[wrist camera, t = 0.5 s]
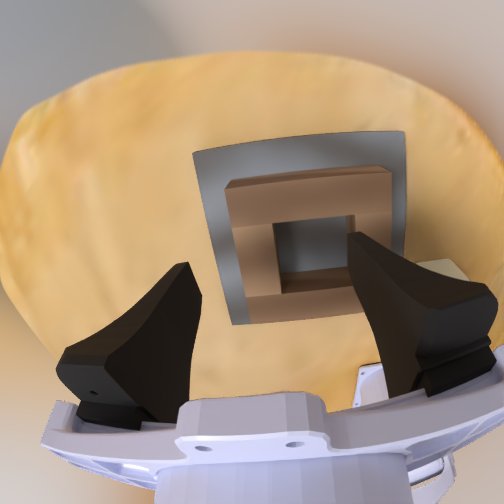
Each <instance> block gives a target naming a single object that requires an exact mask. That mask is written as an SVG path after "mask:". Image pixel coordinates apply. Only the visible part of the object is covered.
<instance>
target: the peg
mask: <svg viewBox="0 0 504 504" xmlns="http://www.w3.org/2000/svg"><path fill="white" fill-rule="evenodd" d="M416 264H417V265H419V266H421V267H424V268H426V269H429V270H431V271H434V272H437V273H440V274H443V275H446V276H449V277H453V278H457V279H461V280H465V281H470V280H469V279H468V278H467V276H466V275H465V274H464V273H463V272H462V271H461V270H460V269H459V268H458V267H457V266H456V265H455V264H454V263H453V261H452V260H451V259H450V258H446V259H439V260H432V261H426V262H419V263H416Z"/></svg>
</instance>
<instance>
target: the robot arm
mask: <svg viewBox="0 0 504 504" xmlns="http://www.w3.org/2000/svg"><path fill="white" fill-rule="evenodd" d="M347 243H348V271H349V275H350V278H351V281H352V284H353V287H354V290H355V292H356V294H357V297H358V299H359V301H360V303H361V305H362V308H363V310H364V312H365V314H366V316H367V319H368V321H369V323H370V326H371V328H372V331H373V333H374V337H375V340H376V344H377V347H378V351H379V355H380V359H381V363H378V364H373V365H367V366H362V367H360V368H359V372H358V378H357V384H356V390H355V395H354V401H353V406H352V408H351V409H346V410H341V411H336V412H331V413H327V412H326V406H325V403H324V402H323V400H322V399H321V398H320V397H319V396H317V395H314V394H310V393H307V392H303V391H300V392H279V393H271V394H261V395H251V396H239V397H223V398H202V399H196V400H190V401H189V389H190V370H191V359H192V353H193V348H194V343H195V339H196V334H197V330H198V325H199V320H200V315H201V305H202V294H201V292H200V289H199V287H198V285H197V282H196V280H195V277H194V275H193V272H192V270H191V267H190V264H189V262H184V263H178V264H176V265H174V266H173V267H172V268H171V269H170V270H169V271H168V272H167V273H166V274H165V275H164V276H163V277H162V278H161V279H160V280H159V281H158V282H157V283H156V284H155V286H154V287H153V288H152V289H151V290H150V291H149V292H148V293H147V294H146V295H144V296H143V297H142V298H141V299H140V300H139V301H138V302H137V303H136V304H135V305H134V306H133V307H132V308H130V309H129V310H128V311H127V312H126V313H124V314H123V315H122V316H121V317H119V318H118V319H116V320H115V321H113V322H112V323H111V324H109V325H108V326H106V327H105V328H103V329H102V330H100V331H98V332H97V333H95V334H93V335H91V336H90V337H88V338H86V339H84V340H82V341H80V342H78V343H75V344H73V345H71V346H69V347H66V349H65V351H64V353H63V355H62V357H61V359H60V361H59V363H58V365H57V367H56V372H57V375H58V377H59V379H60V380H61V381H62V383H63V384H64V385H65V386H66V387H67V388H68V389H69V390H70V391H72V393H73V394H74V395H76V396H77V397H78V398H79V399H80V400H81V402H80V404H79V406H78V405H76V404H73V403H70V402H65V401H60V400H57V401H56V402H55V404H54V407H53V409H52V412H51V415H50V417H49V420H48V422H47V425H46V428H45V430H44V433H43V436H42V439H41V442H40V444H41V445H42V446H43V447H45V448H46V449H48V450H49V451H51V452H52V453H54V454H55V455H57V456H58V457H60V458H62V459H63V460H65V461H67V462H68V463H70V464H72V465H74V466H75V467H77V468H81V469H83V470H86V471H89V472H92V473H95V474H98V475H102V476H105V477H107V478H111V479H114V480H117V481H121V482H124V483H128V484H131V485H135V486H139V487H143V488H147V489H151V490H156V491H155V498H154V504H437V503H438V502H439V501H440V499H441V498H442V497H443V496H444V495H445V493H446V492H447V491H448V490H449V488H450V487H451V486H452V485H453V483H454V481H455V477H456V470H455V466H454V458H453V454H452V453H453V452H454V451H456V450H458V449H460V448H462V447H464V446H466V445H468V444H470V443H471V442H473V441H475V440H477V439H478V438H480V437H482V436H483V435H485V434H487V433H488V432H490V431H492V430H493V429H495V428H496V427H498V426H500V425H502V424H503V423H504V344H502V345H500V346H499V347H497V348H496V349H495V350H494V351H493V352H492V351H491V349H490V347H489V345H490V344H491V340H490V338H489V337H488V332H489V330H490V328H491V326H492V324H493V322H494V320H495V317H496V314H497V311H498V301H497V299H496V297H495V296H494V295H493V293H492V292H491V291H490V290H489V288H488V287H487V286H486V285H485V284H483V283H477V282H471V281H465V280H461V279H457V278H453V277H449V276H446V275H443V274H440V273H437V272H434V271H431V270H429V269H426V268H424V267H421V266H419V265H417V264H415V263H412V262H410V261H408V260H406V259H405V258H403V257H401V256H399V255H397V254H396V253H394V252H392V251H391V250H389V249H387V248H386V247H384V246H383V245H381V244H379V243H378V242H376V241H375V240H373V239H372V238H370V237H369V236H367V235H366V234H364V233H362V232H361V231H358V232H353V233H347ZM442 459H443V462H444V466H443V462H442ZM441 473H442V474H441ZM439 474H441V475H440V476H439V478H438V479H436V480H435V481H433V482H431V483H429V484H427V485H424V486H422V487H419V488H417V489H414V490H412V491H411V487H410V486H413V485H416V484H418V483H421V482H423V481H425V480H428V479H430V478H432V477H435V476H437V475H439Z"/></svg>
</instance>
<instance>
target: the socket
mask: <svg viewBox="0 0 504 504" xmlns="http://www.w3.org/2000/svg"><path fill="white" fill-rule="evenodd" d="M192 155H193V160H194V165H195V169H196V174H197V179H198V184H199V188H200V193H201V198H202V202H203V207H204V211H205V216H206V220H207V225H208V229H209V233H210V238H211V242H212V246H213V250H214V255H215V259H216V263H217V267H218V271H219V275H220V279H221V283H222V287H223V291H224V295H225V299H226V303H227V307H228V311H229V315H230V319H231V322H232V325H243V324H260V323H273V322H284V321H295V320H305V319H314V318H323V317H331V316H339V315H347V314H354V313H362V312H364V310H363V308H362V305H361V303H360V301H359V299H358V297H357V294H356V292H355V290H354V287H353V284H352V281H351V278H350V275H349V271H348V243H347V233H353V232H358V231H361V232H362V233H364V234H366V235H367V236H369V237H370V238H372V239H373V240H375V241H376V242H378V243H379V244H381V245H383V246H384V247H386V248H387V249H389V250H391V251H392V252H394V253H396V254H397V255H399V256H401V257H403V251H404V237H405V218H406V157H405V139H404V132H403V131H361V132H341V133H326V134H313V135H303V136H293V137H284V138H276V139H268V140H261V141H254V142H247V143H240V144H234V145H228V146H223V147H217V148H212V149H207V150H201V151H196V152H194V153H192Z"/></svg>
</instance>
